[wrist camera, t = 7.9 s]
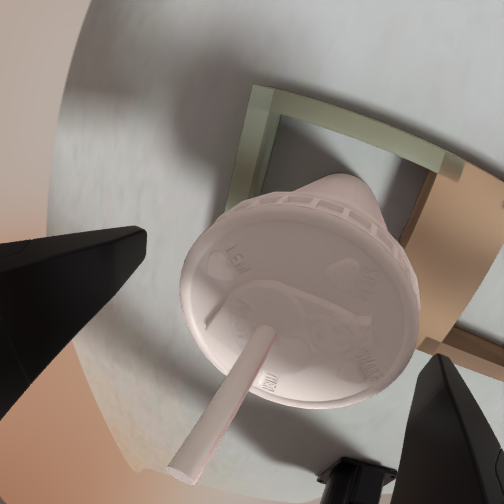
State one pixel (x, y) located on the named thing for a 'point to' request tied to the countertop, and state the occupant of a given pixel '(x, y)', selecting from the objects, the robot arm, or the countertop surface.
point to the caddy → (420, 221)
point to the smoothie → (297, 305)
